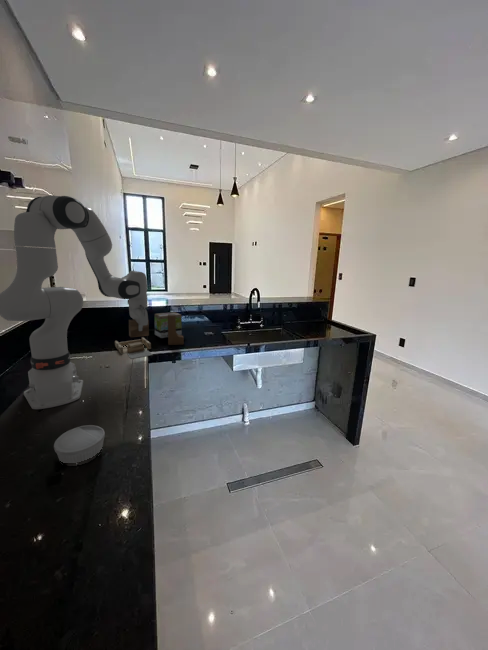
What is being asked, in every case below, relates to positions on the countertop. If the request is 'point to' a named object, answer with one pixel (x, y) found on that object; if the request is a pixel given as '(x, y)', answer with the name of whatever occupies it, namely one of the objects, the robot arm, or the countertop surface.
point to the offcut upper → (135, 344)
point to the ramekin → (79, 443)
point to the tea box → (166, 324)
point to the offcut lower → (135, 349)
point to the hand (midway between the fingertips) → (138, 329)
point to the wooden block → (173, 332)
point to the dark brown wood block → (134, 329)
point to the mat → (139, 354)
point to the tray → (124, 349)
